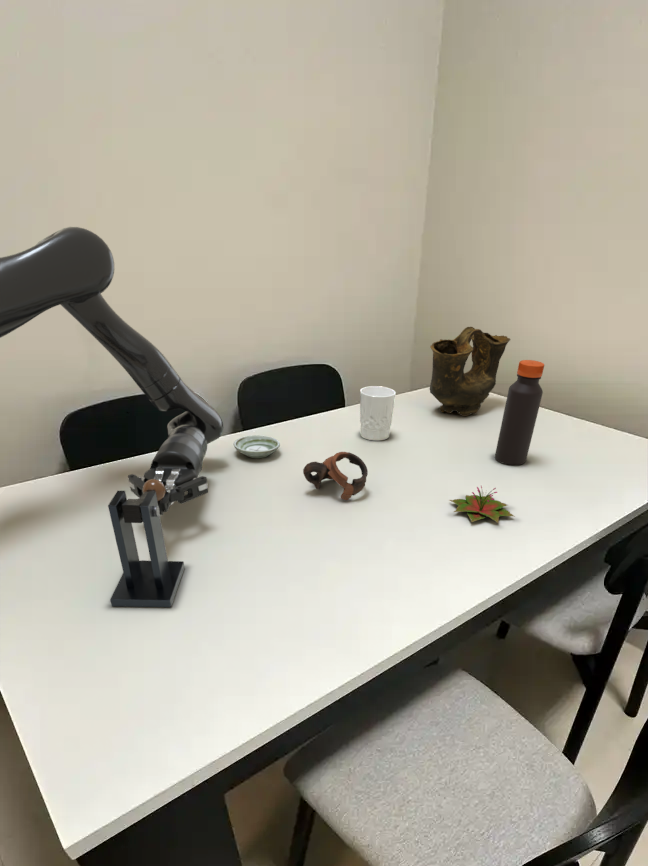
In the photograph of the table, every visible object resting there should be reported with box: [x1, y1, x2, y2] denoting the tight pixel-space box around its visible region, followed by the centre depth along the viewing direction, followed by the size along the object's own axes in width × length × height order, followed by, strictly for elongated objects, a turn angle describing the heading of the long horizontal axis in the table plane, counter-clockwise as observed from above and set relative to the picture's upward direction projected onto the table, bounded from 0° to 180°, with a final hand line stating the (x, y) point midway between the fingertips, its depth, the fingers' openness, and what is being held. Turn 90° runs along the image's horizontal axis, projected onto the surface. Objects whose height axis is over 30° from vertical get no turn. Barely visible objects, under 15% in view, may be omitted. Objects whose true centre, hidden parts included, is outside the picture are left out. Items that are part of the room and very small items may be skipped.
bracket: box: [107, 490, 186, 608], centre depth 79 cm, size 10×8×14 cm
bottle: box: [494, 359, 545, 466], centre depth 121 cm, size 7×7×20 cm
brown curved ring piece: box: [302, 451, 369, 501], centre depth 109 cm, size 12×10×8 cm
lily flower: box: [449, 485, 516, 524], centre depth 106 cm, size 12×12×5 cm
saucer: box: [233, 434, 281, 459], centre depth 123 cm, size 10×10×2 cm
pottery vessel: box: [429, 326, 511, 417], centre depth 147 cm, size 25×11×20 cm, turn 132°
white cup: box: [359, 385, 397, 441], centre depth 132 cm, size 8×8×10 cm
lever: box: [122, 479, 166, 524], centre depth 81 cm, size 13×3×3 cm, turn 2°
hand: (156, 509), depth 86 cm, fingers closed
